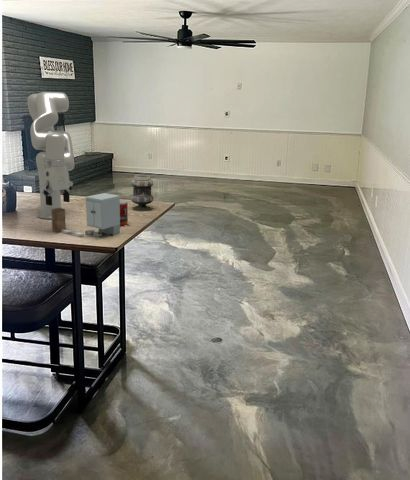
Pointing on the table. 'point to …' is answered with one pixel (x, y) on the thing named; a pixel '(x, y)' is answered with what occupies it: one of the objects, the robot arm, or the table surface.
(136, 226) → the table surface
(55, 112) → the robot arm
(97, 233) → the disc
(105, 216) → the cabinet
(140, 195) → the apothecary jar
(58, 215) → the brown wooden block
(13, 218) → the table surface
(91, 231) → the disc
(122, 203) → the canned food
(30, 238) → the table surface
